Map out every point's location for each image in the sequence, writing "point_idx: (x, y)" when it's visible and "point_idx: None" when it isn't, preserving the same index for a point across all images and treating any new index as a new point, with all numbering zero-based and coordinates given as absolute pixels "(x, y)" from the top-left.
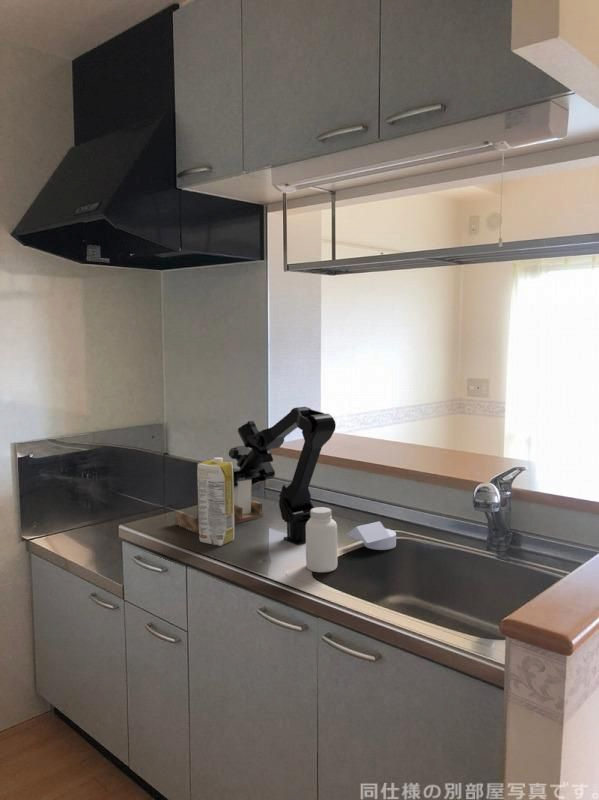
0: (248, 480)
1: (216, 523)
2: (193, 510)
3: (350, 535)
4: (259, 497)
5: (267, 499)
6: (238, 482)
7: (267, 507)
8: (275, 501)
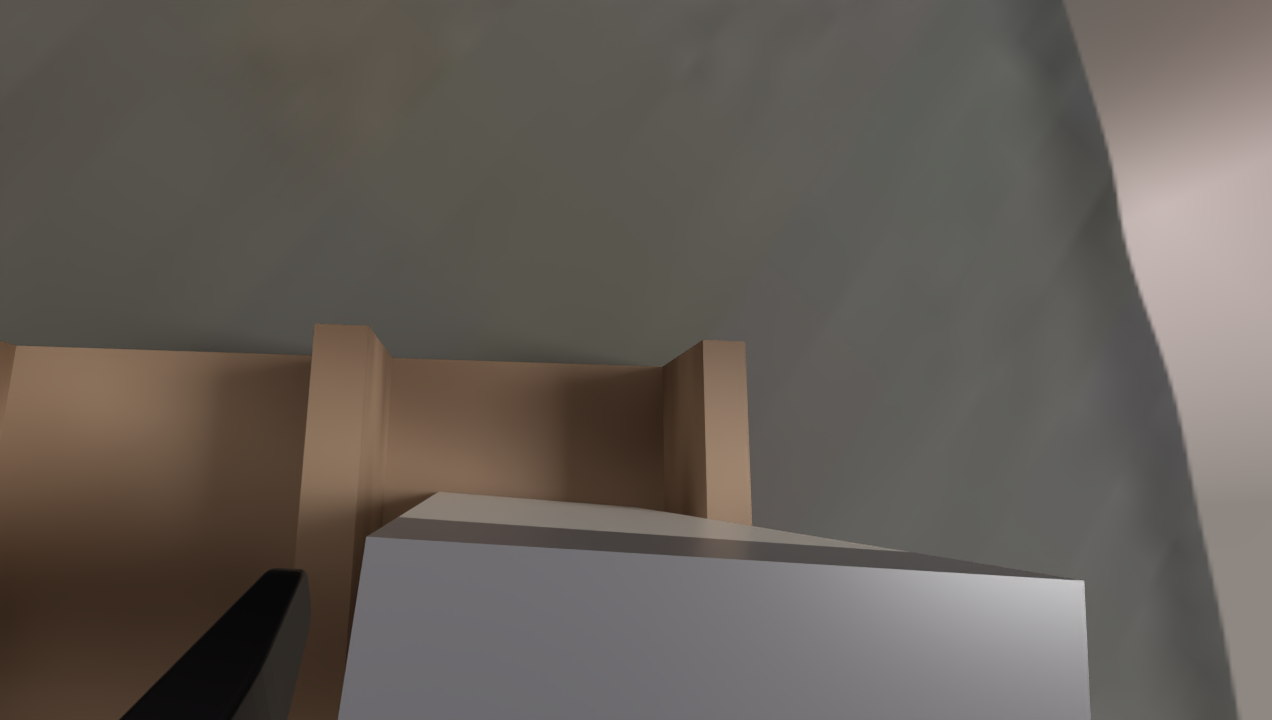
0: None
1: None
2: (259, 15)
3: None
4: (1063, 171)
5: (1086, 282)
6: None
7: (945, 523)
8: (1111, 396)
